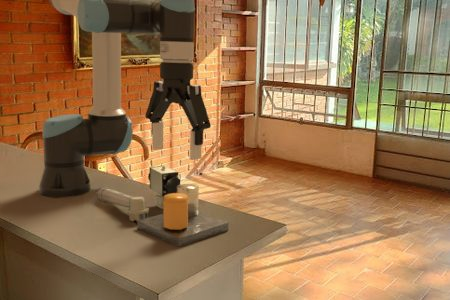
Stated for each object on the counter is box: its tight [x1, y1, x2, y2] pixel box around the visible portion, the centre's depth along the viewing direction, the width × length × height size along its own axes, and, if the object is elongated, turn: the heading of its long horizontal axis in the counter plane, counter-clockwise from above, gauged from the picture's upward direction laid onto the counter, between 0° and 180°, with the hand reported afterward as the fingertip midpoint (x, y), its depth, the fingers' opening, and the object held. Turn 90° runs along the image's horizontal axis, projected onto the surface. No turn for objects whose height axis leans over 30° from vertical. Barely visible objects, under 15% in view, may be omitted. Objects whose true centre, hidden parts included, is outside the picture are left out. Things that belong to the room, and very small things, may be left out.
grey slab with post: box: [136, 183, 229, 247], centre depth 122 cm, size 16×16×9 cm
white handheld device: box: [96, 187, 150, 222], centre depth 136 cm, size 5×7×25 cm
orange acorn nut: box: [163, 193, 188, 230], centre depth 117 cm, size 6×6×7 cm
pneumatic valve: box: [147, 165, 181, 210], centre depth 139 cm, size 6×12×12 cm, turn 32°
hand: (175, 154), depth 115 cm, fingers open, 13 cm apart
